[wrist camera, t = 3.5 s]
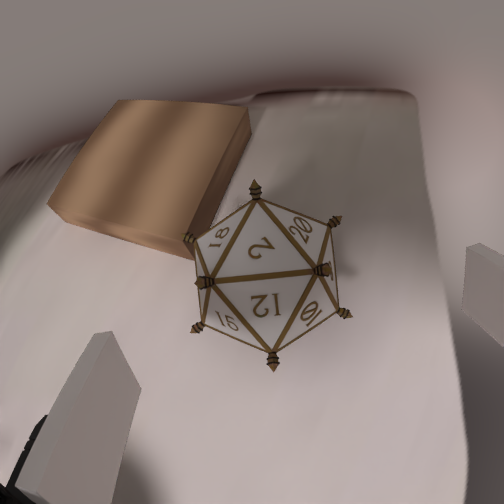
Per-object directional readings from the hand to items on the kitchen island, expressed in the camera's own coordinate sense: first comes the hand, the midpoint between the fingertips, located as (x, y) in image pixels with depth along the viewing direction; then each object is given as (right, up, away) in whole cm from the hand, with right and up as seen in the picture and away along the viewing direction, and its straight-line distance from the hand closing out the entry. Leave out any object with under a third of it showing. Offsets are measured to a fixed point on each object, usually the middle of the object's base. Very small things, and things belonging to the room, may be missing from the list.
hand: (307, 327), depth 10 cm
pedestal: (-10, +9, +15) cm, 20 cm away
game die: (-1, 0, +10) cm, 10 cm away
